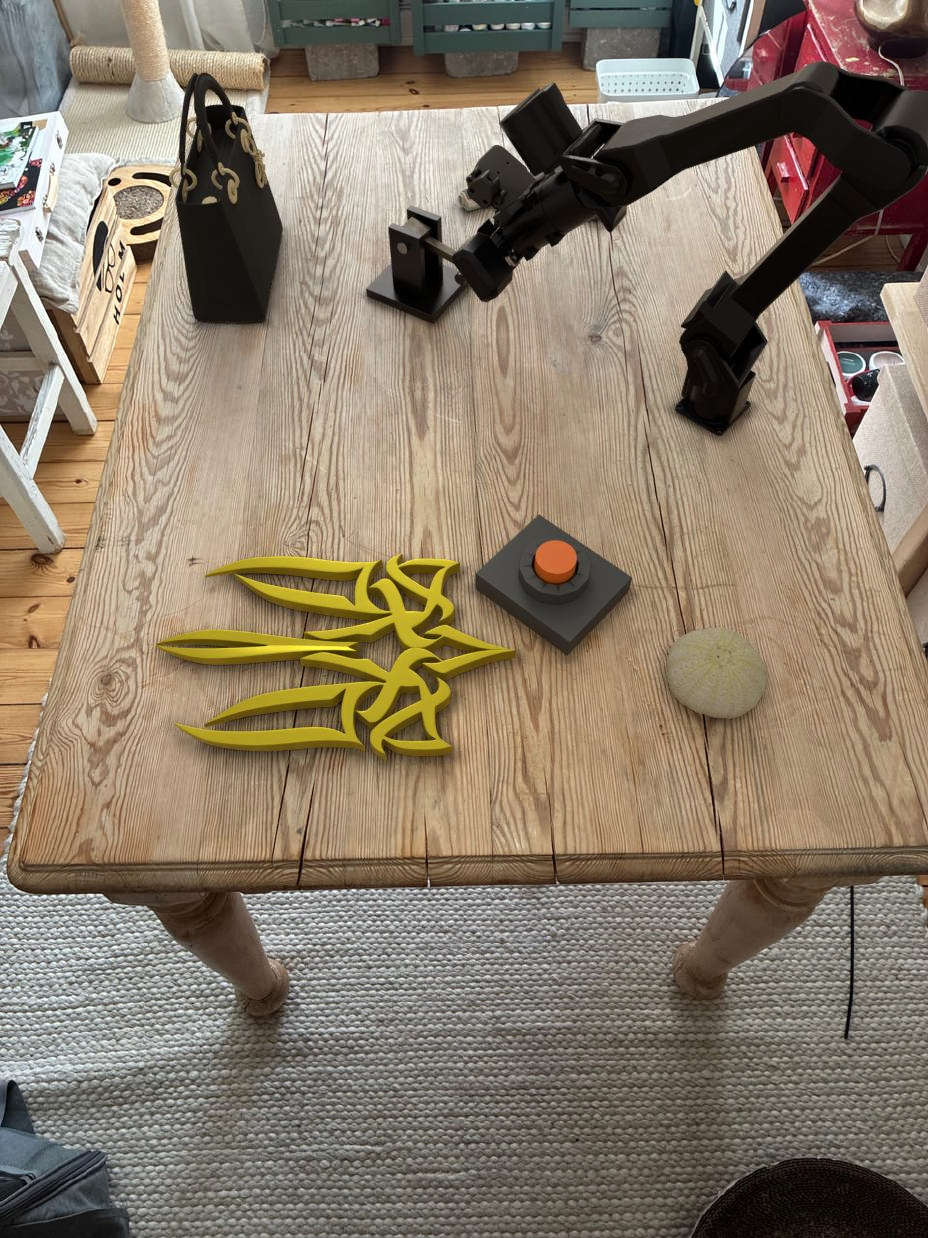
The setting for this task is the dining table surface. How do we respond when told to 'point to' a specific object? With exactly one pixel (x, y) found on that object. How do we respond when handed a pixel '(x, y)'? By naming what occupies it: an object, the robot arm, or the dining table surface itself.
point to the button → (555, 562)
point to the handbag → (225, 211)
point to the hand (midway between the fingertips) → (470, 259)
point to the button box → (552, 587)
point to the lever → (433, 244)
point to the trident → (344, 655)
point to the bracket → (416, 272)
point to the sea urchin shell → (716, 672)
